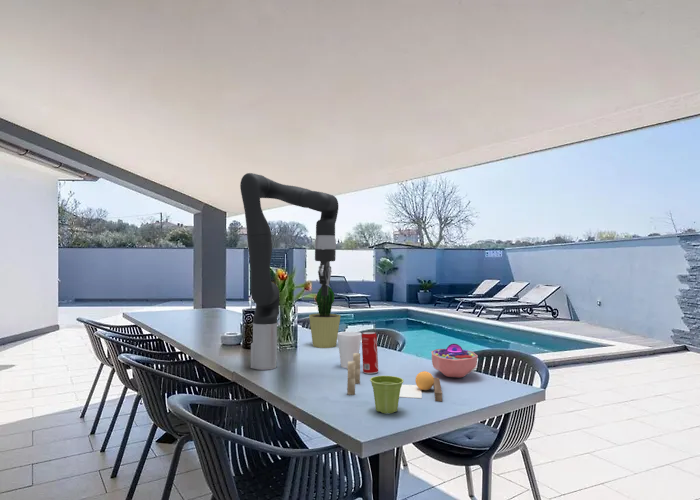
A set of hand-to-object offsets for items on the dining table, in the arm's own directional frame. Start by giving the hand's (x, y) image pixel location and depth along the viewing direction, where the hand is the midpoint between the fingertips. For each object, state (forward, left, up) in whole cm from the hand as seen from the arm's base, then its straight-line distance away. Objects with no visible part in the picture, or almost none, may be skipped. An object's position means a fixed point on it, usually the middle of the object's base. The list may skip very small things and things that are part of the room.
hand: (324, 295), depth 168 cm
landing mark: (+28, -14, -29) cm, 43 cm away
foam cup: (+7, +16, -29) cm, 34 cm away
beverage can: (+16, +8, -29) cm, 34 cm away
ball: (+36, -12, -26) cm, 46 cm away
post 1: (+13, -20, -29) cm, 38 cm away
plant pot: (+25, -34, -29) cm, 51 cm away
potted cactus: (-11, +56, -29) cm, 64 cm away
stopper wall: (+40, -14, -29) cm, 51 cm away
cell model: (+47, +9, -29) cm, 56 cm away
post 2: (+13, -8, -29) cm, 33 cm away
